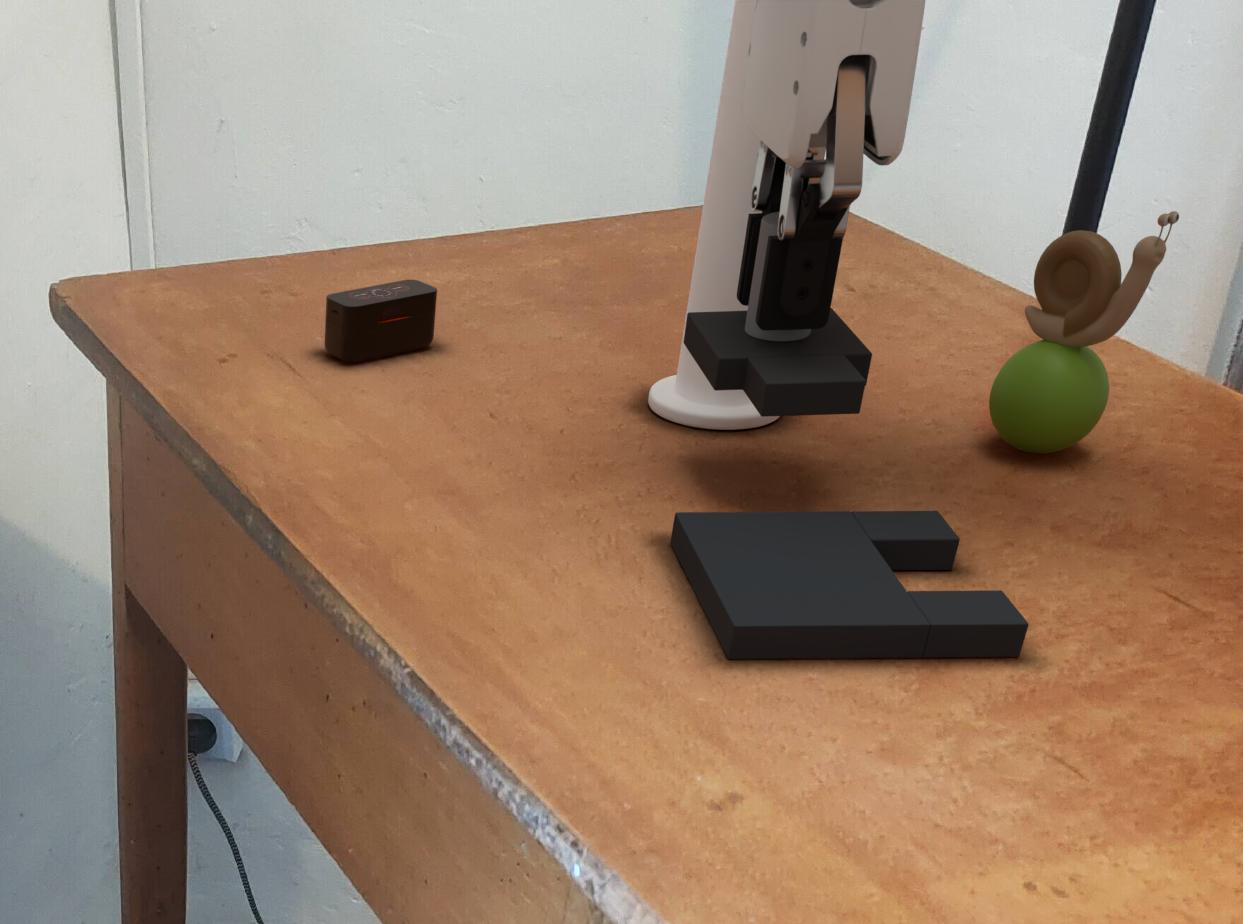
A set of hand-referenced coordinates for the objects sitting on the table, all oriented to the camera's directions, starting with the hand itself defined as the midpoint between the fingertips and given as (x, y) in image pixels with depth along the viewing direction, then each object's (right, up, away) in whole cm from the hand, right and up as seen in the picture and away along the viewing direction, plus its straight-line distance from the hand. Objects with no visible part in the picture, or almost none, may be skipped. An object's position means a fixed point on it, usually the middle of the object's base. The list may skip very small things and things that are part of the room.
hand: (780, 311), depth 88 cm
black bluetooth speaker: (-16, +7, +22) cm, 28 cm away
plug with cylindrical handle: (0, -3, 0) cm, 3 cm away
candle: (+1, 0, +13) cm, 13 cm away
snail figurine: (+16, -4, +7) cm, 18 cm away
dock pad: (0, -15, -6) cm, 16 cm away
